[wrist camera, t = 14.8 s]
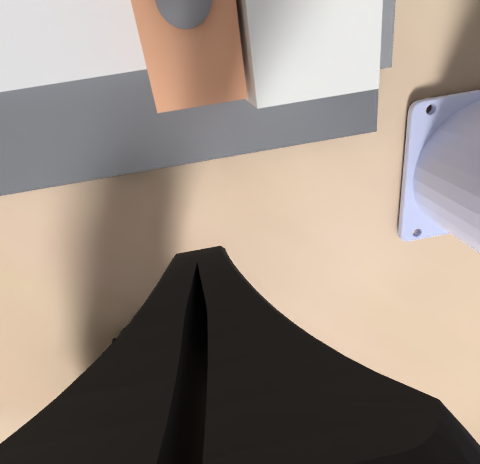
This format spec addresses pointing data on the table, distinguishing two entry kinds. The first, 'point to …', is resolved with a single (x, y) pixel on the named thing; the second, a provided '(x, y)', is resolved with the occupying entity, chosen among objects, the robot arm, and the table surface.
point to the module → (309, 48)
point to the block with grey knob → (191, 51)
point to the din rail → (130, 101)
